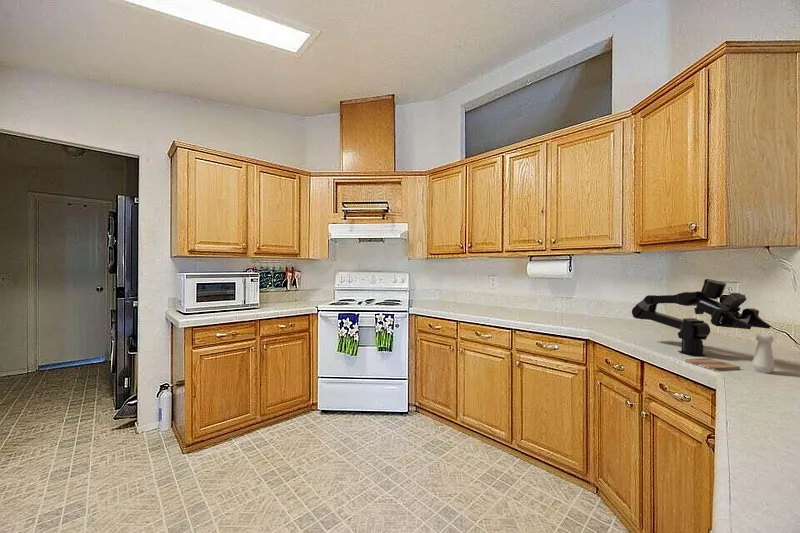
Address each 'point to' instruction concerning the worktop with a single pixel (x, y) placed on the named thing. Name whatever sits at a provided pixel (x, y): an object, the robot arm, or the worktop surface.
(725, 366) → the board
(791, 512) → the worktop surface
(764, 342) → the salt shaker
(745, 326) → the robot arm
